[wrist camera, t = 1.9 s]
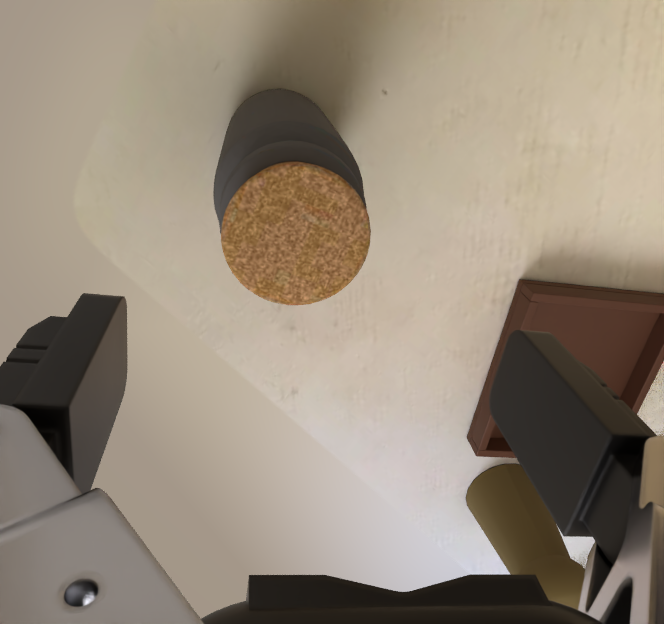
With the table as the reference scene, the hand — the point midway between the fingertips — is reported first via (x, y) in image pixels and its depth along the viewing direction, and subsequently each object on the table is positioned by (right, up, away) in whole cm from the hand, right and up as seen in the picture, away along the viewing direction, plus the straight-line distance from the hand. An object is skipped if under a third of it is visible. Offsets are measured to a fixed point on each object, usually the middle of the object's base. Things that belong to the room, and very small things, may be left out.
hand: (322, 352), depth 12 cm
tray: (+17, -3, +29) cm, 33 cm away
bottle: (-3, +10, +19) cm, 22 cm away
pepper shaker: (+14, -14, +34) cm, 39 cm away
